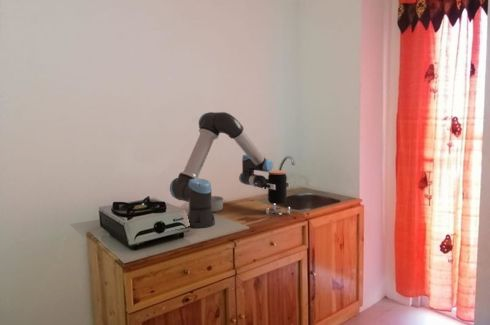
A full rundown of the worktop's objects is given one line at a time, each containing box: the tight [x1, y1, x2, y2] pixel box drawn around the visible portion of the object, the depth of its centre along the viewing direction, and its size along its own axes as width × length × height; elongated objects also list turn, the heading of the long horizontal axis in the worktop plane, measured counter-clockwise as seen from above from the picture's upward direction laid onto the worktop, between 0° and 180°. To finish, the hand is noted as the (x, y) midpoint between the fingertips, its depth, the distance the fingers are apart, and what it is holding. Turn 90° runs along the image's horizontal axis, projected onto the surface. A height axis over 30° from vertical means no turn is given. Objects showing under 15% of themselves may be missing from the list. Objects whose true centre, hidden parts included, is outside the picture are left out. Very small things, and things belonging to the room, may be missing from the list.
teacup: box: [211, 195, 224, 213], centre depth 228 cm, size 14×11×8 cm
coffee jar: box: [267, 169, 287, 205], centre depth 222 cm, size 11×11×18 cm
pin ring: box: [265, 203, 291, 216], centre depth 222 cm, size 12×14×4 cm
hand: (282, 186), depth 219 cm, fingers closed on coffee jar, 11 cm apart
